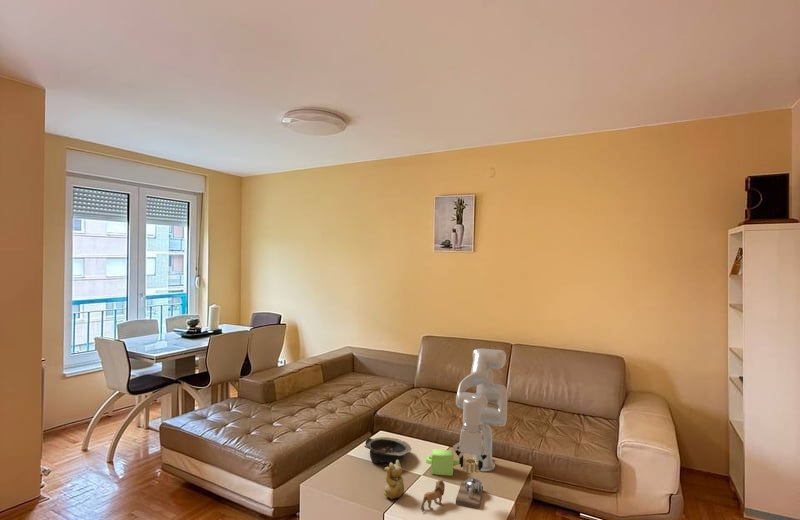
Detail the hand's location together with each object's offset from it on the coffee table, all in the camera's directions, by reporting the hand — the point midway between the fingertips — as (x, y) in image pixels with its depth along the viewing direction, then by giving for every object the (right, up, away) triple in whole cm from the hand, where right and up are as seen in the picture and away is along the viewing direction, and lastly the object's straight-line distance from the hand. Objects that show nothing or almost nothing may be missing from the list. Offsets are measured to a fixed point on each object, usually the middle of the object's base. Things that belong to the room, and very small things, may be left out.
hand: (470, 467), depth 185 cm
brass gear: (0, -1, 0) cm, 1 cm away
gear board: (0, -16, +5) cm, 16 cm away
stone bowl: (-37, -16, +41) cm, 58 cm away
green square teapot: (-9, -16, +28) cm, 34 cm away
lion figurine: (-17, -16, -2) cm, 23 cm away
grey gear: (+2, -14, +8) cm, 16 cm away
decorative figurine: (-33, -16, +5) cm, 37 cm away
